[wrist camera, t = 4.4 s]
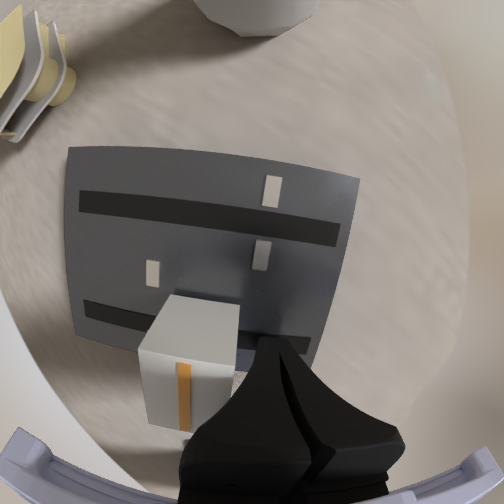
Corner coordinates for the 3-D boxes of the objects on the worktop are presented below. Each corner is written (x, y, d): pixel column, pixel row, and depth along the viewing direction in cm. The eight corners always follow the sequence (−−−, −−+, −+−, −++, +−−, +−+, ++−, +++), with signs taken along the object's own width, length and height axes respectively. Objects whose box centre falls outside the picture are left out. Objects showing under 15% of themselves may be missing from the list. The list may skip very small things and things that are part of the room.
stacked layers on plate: (6, 72, 9) (-41, 62, 4) (96, 0, 9) (55, -36, 3) (17, 185, 12) (-43, 197, 7) (118, 114, 11) (54, 91, 6)
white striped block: (229, 374, 12) (223, 439, 8) (170, 364, 12) (148, 425, 8) (239, 304, 11) (235, 368, 7) (170, 294, 11) (137, 350, 7)
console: (301, 354, 15) (308, 377, 13) (91, 318, 14) (75, 335, 12) (344, 177, 12) (361, 179, 10) (90, 148, 11) (67, 146, 9)
